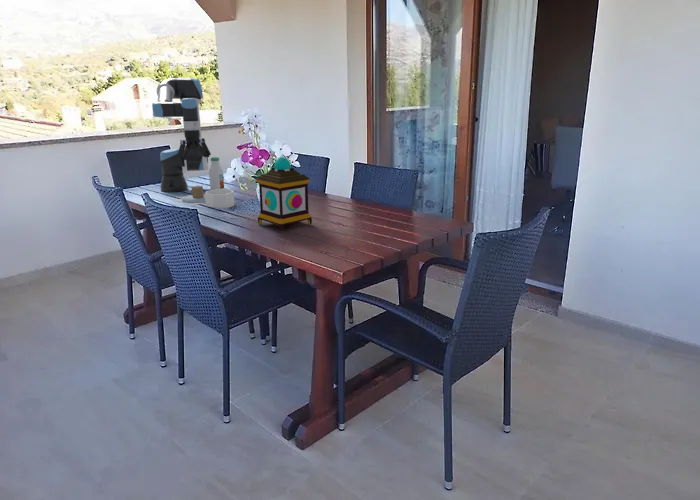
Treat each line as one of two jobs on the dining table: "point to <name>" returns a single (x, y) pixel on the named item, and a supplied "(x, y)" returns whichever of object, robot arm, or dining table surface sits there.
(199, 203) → the mat
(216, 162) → the milk bottle
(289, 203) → the decorative lantern
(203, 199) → the lid
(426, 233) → the dining table surface
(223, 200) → the bowl
